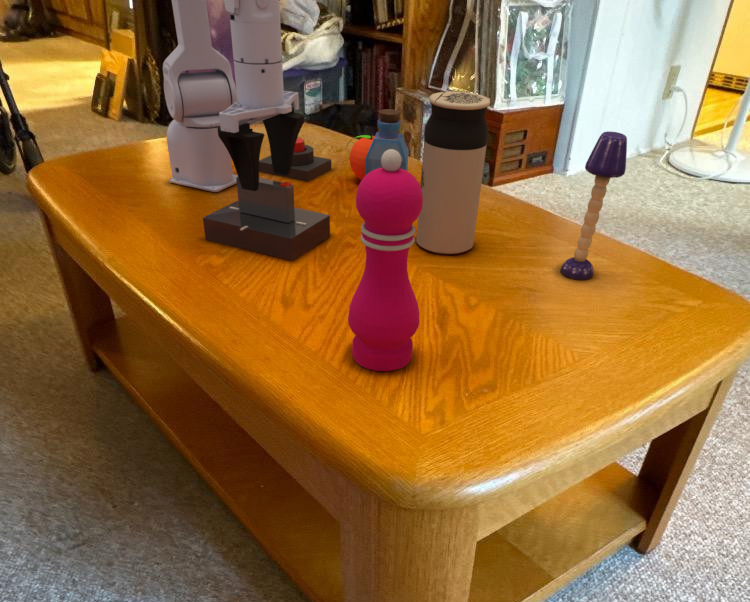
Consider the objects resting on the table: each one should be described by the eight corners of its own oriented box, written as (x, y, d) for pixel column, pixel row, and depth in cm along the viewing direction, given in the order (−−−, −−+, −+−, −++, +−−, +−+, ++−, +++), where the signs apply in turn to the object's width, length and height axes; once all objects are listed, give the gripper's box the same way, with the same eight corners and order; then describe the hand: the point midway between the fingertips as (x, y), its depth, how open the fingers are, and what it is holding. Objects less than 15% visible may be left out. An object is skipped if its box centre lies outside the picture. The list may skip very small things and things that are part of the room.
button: (279, 152, 114) (278, 140, 113) (290, 147, 117) (290, 136, 116) (297, 155, 113) (297, 144, 112) (308, 150, 116) (308, 139, 115)
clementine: (336, 182, 113) (336, 136, 108) (353, 171, 118) (354, 126, 113) (381, 190, 111) (382, 143, 106) (396, 178, 116) (398, 132, 111)
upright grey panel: (239, 212, 93) (235, 175, 90) (245, 208, 94) (242, 172, 91) (288, 223, 90) (287, 186, 87) (295, 219, 91) (293, 182, 88)
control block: (257, 171, 116) (256, 149, 114) (283, 160, 121) (281, 138, 119) (307, 182, 113) (307, 159, 111) (331, 169, 118) (331, 148, 116)
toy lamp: (598, 270, 90) (635, 131, 79) (595, 284, 87) (633, 141, 75) (562, 264, 91) (593, 126, 80) (557, 277, 88) (589, 136, 76)
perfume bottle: (406, 190, 111) (411, 108, 103) (403, 203, 107) (408, 118, 99) (368, 188, 112) (371, 105, 104) (364, 200, 107) (366, 115, 99)
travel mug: (480, 240, 96) (500, 96, 84) (461, 260, 91) (480, 108, 79) (428, 230, 99) (441, 88, 87) (407, 248, 93) (417, 99, 81)
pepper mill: (345, 339, 74) (347, 137, 60) (411, 339, 74) (427, 138, 61) (349, 375, 68) (352, 161, 55) (420, 374, 69) (440, 162, 55)
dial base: (200, 242, 92) (197, 218, 90) (251, 215, 100) (249, 193, 98) (287, 264, 88) (286, 240, 86) (333, 234, 96) (333, 211, 94)
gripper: (251, 73, 74) (261, 202, 83) (318, 55, 84) (320, 172, 93) (199, 66, 76) (214, 192, 85) (270, 48, 86) (276, 163, 95)
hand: (266, 181), depth 89 cm, fingers open, 7 cm apart
